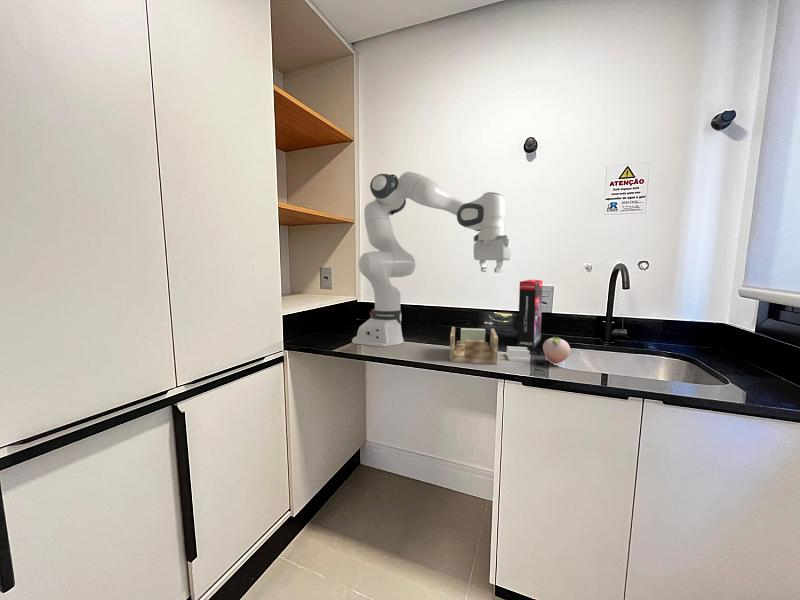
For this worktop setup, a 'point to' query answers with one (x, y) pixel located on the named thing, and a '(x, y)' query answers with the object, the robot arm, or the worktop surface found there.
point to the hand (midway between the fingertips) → (490, 272)
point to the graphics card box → (530, 313)
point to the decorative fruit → (556, 349)
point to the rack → (488, 354)
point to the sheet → (472, 334)
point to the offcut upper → (474, 345)
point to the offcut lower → (472, 354)
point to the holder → (518, 354)
